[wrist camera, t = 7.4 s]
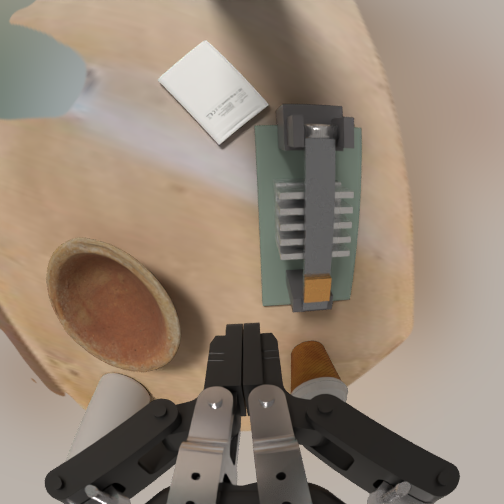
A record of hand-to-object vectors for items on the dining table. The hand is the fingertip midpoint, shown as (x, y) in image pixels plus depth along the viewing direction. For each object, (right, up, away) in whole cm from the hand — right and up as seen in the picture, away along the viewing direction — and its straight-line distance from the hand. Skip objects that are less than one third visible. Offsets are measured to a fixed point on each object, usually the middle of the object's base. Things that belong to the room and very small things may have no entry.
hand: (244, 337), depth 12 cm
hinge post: (+7, +19, +20) cm, 29 cm away
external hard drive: (-5, +25, +18) cm, 31 cm away
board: (+8, +8, +25) cm, 28 cm away
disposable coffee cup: (+11, -14, +35) cm, 39 cm away
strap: (+7, +7, +16) cm, 19 cm away
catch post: (+8, +1, +28) cm, 29 cm away
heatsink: (+7, +10, +24) cm, 27 cm away
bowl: (-21, -2, +29) cm, 36 cm away
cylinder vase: (-29, -27, +40) cm, 57 cm away
